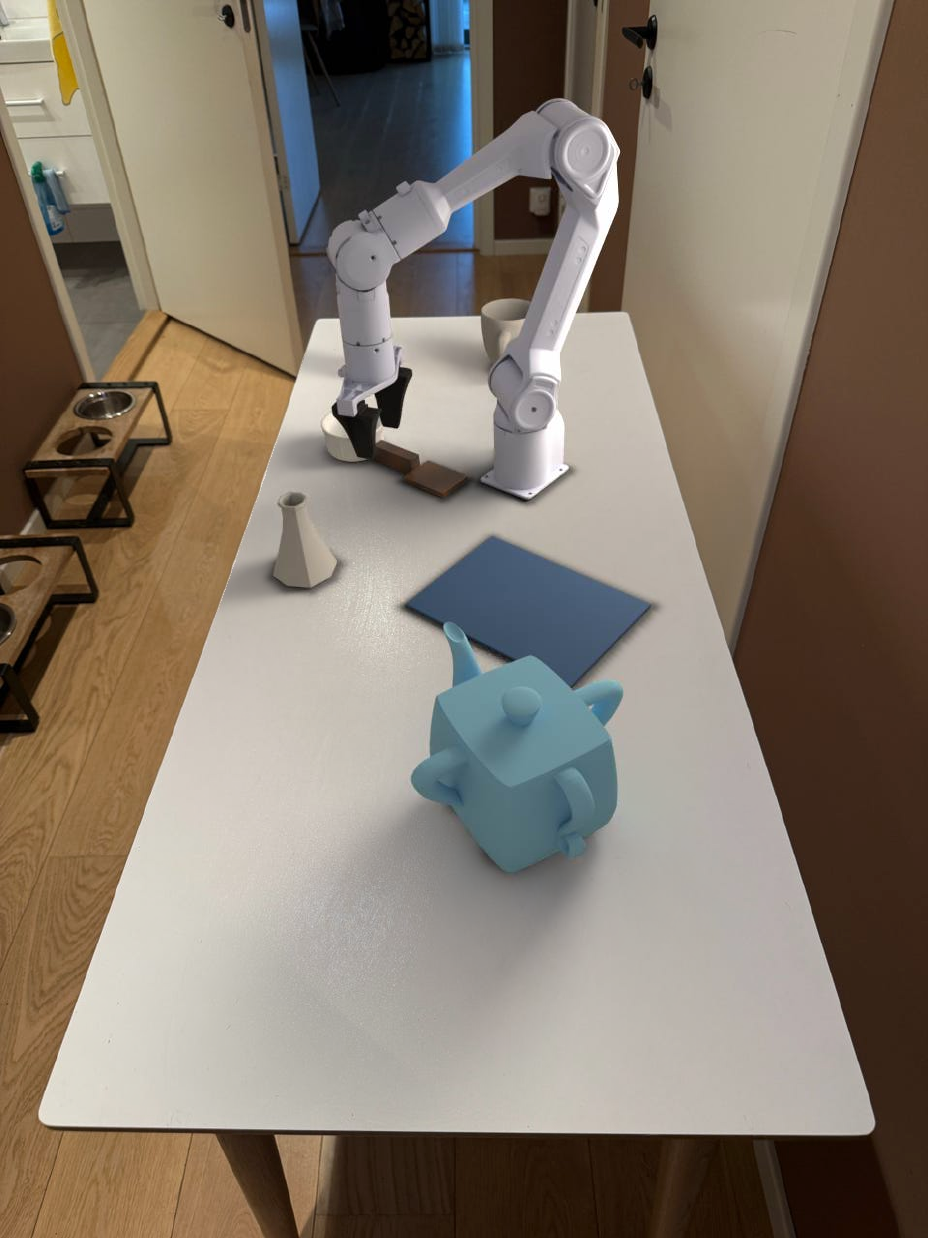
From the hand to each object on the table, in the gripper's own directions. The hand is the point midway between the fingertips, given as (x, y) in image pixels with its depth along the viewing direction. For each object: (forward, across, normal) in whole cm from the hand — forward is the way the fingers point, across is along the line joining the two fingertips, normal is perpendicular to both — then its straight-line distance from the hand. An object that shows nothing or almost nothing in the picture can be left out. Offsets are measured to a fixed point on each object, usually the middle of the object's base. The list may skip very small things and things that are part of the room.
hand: (378, 441), depth 114 cm
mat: (+9, +14, +24) cm, 29 cm away
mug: (+9, -40, +4) cm, 41 cm away
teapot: (+9, +40, +30) cm, 51 cm away
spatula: (+9, -8, 0) cm, 12 cm away
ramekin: (+9, -11, -9) cm, 17 cm away
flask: (+9, +16, -3) cm, 19 cm away
